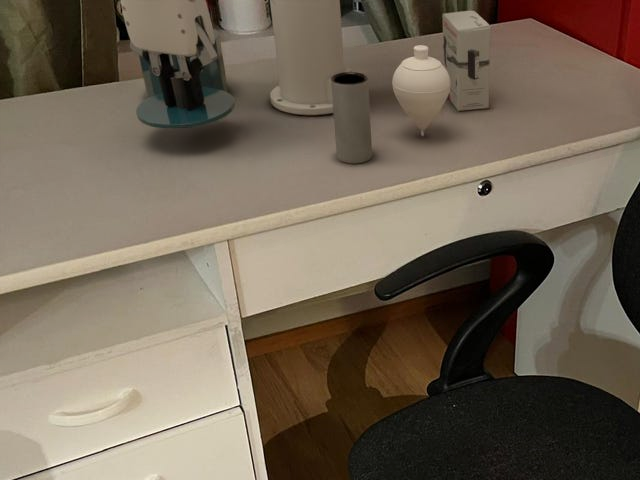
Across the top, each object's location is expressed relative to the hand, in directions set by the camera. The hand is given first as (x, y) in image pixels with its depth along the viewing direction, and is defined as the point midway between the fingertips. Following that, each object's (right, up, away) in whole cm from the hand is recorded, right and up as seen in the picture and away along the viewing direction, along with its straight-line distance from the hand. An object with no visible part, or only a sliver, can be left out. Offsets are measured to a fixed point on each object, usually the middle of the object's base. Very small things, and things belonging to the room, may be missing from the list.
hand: (185, 103), depth 113 cm
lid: (0, -1, +1) cm, 1 cm away
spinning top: (+31, -3, +5) cm, 31 cm away
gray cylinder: (+22, -7, -1) cm, 23 cm away
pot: (-5, +6, +16) cm, 17 cm away
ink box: (+36, +5, +17) cm, 40 cm away
